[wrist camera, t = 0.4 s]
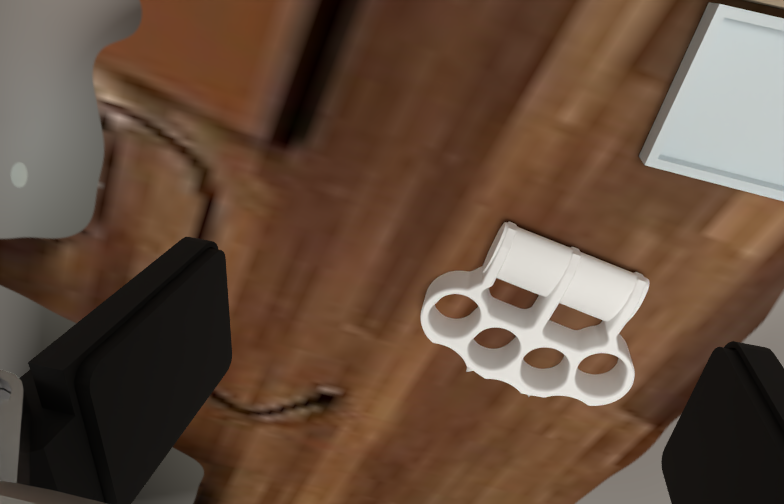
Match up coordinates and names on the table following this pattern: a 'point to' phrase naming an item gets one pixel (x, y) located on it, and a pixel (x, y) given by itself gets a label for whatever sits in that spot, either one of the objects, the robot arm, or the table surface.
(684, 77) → the box
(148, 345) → the robot arm
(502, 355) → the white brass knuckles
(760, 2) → the birch plate
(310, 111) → the table surface
